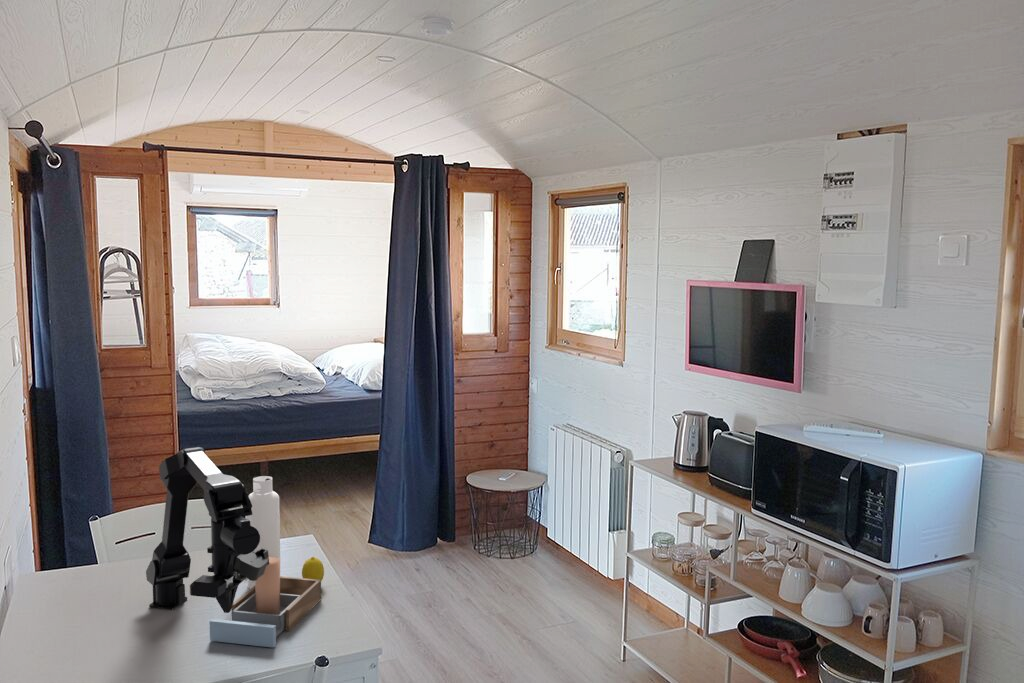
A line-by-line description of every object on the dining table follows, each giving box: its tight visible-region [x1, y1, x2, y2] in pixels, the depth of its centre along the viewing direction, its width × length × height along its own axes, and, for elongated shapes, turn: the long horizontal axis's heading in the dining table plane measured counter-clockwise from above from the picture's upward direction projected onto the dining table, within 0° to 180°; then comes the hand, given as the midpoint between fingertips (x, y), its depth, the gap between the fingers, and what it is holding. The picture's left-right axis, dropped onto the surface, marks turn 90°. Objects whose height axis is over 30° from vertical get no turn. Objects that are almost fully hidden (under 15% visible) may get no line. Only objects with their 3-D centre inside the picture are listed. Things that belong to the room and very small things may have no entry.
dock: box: [231, 575, 322, 632], centre depth 198 cm, size 14×18×5 cm
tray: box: [209, 593, 301, 648], centre depth 190 cm, size 15×18×4 cm
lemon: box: [301, 556, 325, 582], centre depth 213 cm, size 6×6×8 cm
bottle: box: [246, 475, 281, 590], centre depth 213 cm, size 8×8×28 cm
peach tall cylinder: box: [255, 557, 281, 615], centre depth 193 cm, size 6×6×13 cm
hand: (227, 612), depth 175 cm, fingers closed
